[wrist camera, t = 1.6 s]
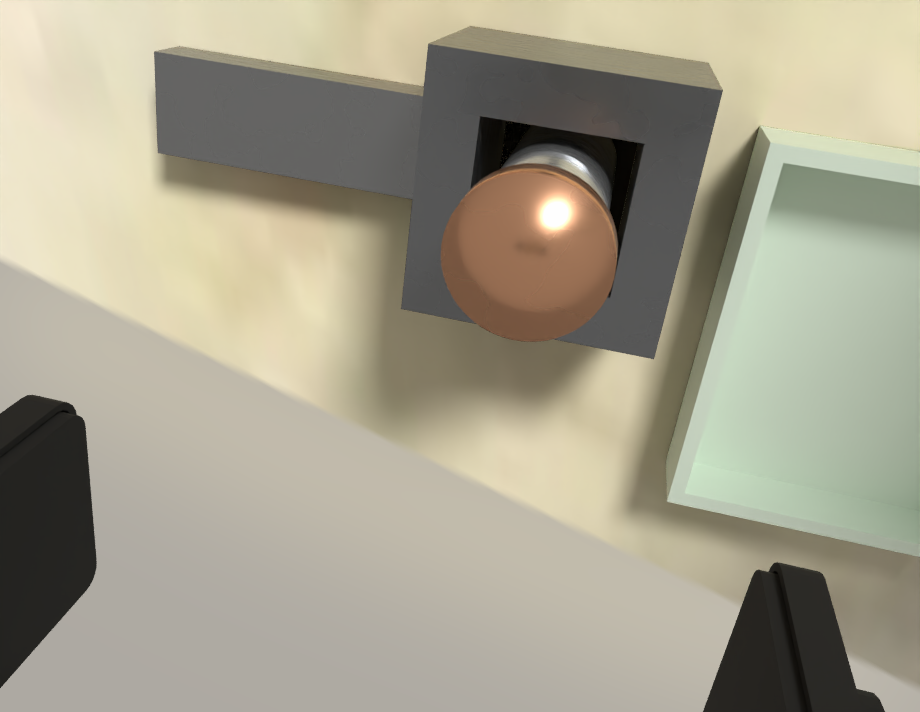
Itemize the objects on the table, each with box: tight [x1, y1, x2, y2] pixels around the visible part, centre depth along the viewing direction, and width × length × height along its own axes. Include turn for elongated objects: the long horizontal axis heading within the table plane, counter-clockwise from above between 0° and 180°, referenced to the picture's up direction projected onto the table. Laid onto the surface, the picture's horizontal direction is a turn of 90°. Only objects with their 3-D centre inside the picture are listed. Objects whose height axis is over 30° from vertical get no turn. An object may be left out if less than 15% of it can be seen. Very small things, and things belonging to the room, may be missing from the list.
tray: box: [666, 126, 920, 557], centre depth 33 cm, size 15×12×3 cm
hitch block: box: [154, 26, 723, 359], centre depth 32 cm, size 21×9×7 cm, turn 82°
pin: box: [441, 125, 618, 342], centre depth 29 cm, size 5×5×12 cm
